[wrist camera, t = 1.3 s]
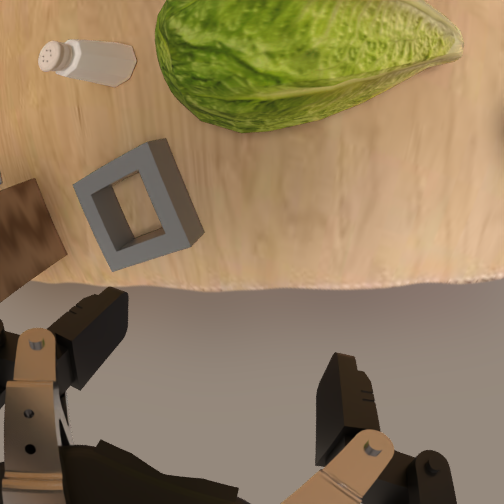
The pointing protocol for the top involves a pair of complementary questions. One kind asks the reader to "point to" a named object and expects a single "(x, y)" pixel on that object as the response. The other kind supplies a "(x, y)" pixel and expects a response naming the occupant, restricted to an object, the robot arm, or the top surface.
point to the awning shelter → (25, 237)
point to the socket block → (163, 199)
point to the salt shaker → (89, 60)
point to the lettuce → (294, 55)
